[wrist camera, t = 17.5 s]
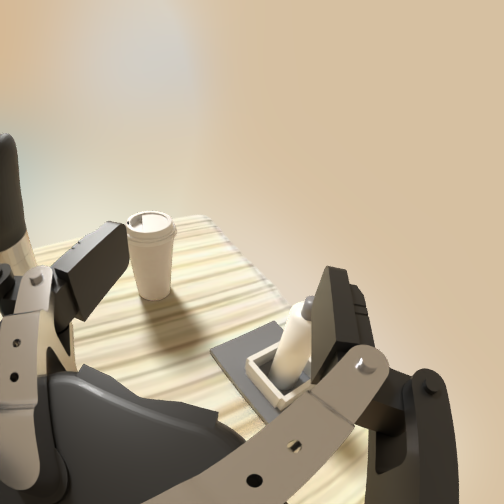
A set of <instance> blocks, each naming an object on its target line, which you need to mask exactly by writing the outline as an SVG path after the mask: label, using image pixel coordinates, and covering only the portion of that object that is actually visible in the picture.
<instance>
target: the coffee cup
mask: <svg viewBox="0 0 504 504" xmlns="http://www.w3.org/2000/svg"><path fill="white" fill-rule="evenodd" d="M125 226H126V229H127V239H128V247H129V256H130V260H131V264H132V269H133V273H134V277H135V280H136V284H137V288H138V292H139V294H140V296H141V297H142V298H144V299H146V300H150V301H156V300H161V299H163V298H165V297H166V296H167V295H168V294H169V293H170V286H171V267H172V252H173V240H174V237H175V236H176V234H177V229H176V226H175V224H174V222H173V221H172V218H171V217H170V216H169V215H168V214H166V213H163V212H159V211H144V212H140V213H137V214H134V215H132V216H131V217H130V218H128V219H127V221H126V225H125Z"/></svg>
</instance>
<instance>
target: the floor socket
mask: <svg viewBox="0 0 504 504" xmlns="http://www.w3.org/2000/svg"><path fill="white" fill-rule="evenodd" d="M283 331H284V330H283V329H282V328H281V327H280V326H279V325H278V324H277V323H276V322H275V321H272V322H270V323H268V324H266V325H264V326H261V327H259V328H257V329H255V330H253V331H250V332H248V333H246V334H244V335H242V336H239V337H237V338H235V339H232V340H230V341H228V342H226V343H223V344H221V345H219V346H216V347H214V348H211V349H210V354H211V355H212V356H213V358H214V359H215V360H216V362H217V363H218V365H219V366H220V367H221V369H222V370H223V371H224V373H225V374H226V375H227V377H228V378H229V379H230V381H231V382H232V383H233V385H234V386H235V387H236V388H237V390H238V391H239V392H240V393H241V395H242V396H243V397H244V399H245V400H246V401H247V402H248V403H249V405H250V406H251V407H252V408H253V410H254V411H255V412H256V413H257V414H258V416H259V417H260V418H261V419H262V420H263V422H264V423H265V424H266V425H268V424H269V423H270V422H271V421H273V420H274V419H275V418H276V417H277V416H279V415H280V414H281V413H282V412H283V411H284V410H285V409H287V408H288V407H289V406H290V405H291V404H292V403H293V402H294V401H296V400H297V399H298V398H299V397H300V396H301V395H302V394H303V393H305V392H306V391H308V390H309V391H310V390H312V389H313V388H314V387H315V386H316V385H314V384H311V356H310V358H309V360H308V362H307V363H306V365H305V367H304V369H303V371H302V373H301V375H300V377H299V379H298V380H297V382H296V384H295V386H294V387H293V388H291V389H289V390H279V389H277V388H276V387H275V386H274V385H273V383H272V382H271V381H270V380H269V379H268V374H269V371H270V368H271V365H272V363H273V360H274V357H275V354H276V351H277V349H278V346H279V343H280V340H281V337H282V334H283Z"/></svg>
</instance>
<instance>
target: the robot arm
mask: <svg viewBox="0 0 504 504" xmlns="http://www.w3.org/2000/svg"><path fill="white" fill-rule="evenodd" d="M129 259H130V256H129V247H128V239H127V229H126V226H125V225H124V224H122V223H117V222H112V221H107V222H106V223H104V224H103V225H102V226H100V227H99V228H98V229H97V230H96V231H94V232H92V233H89V234H87V235H85V236H84V237H83V238H82V239H81V240H80V241H78V243H76V244H75V245H74V246H73V247H72V249H69V250H68V251H67V252H66V253H65V254H64V255H62V256H61V257H60V258H59V259H58V260H57V261H56V262H55V263H54V264H53V265H52V266H51V267H48V266H44V265H41V266H37V263H36V260H35V257H34V253H33V250H32V247H31V244H30V240H29V237H28V233H27V229H26V224H25V220H24V211H23V202H22V196H21V189H20V180H19V166H18V155H17V149H16V144H15V142H14V139H13V138H12V136H11V135H10V134H7V133H5V134H0V313H1V314H2V316H3V319H2V320H1V322H0V504H288V503H287V502H286V501H287V500H288V499H289V498H290V497H291V496H293V495H294V494H295V493H296V492H297V491H298V490H299V489H300V488H301V487H302V486H303V485H304V484H305V483H306V482H307V481H308V480H309V479H310V478H311V477H312V476H313V475H314V474H315V473H316V472H317V471H318V470H319V469H320V468H321V467H322V466H323V465H324V464H325V463H326V461H327V460H328V459H329V458H330V457H331V456H332V455H333V454H334V453H335V451H336V450H337V449H338V448H339V447H340V446H341V444H342V443H343V442H344V441H345V440H346V438H347V437H348V436H349V435H350V433H351V432H352V430H353V429H354V427H355V426H354V424H356V425H358V426H361V427H364V428H367V429H369V439H368V467H367V482H366V494H365V503H364V504H459V478H458V461H457V450H456V441H455V433H454V426H453V420H452V414H451V409H450V403H449V398H448V393H447V389H446V385H445V383H444V381H443V379H442V378H441V376H439V374H438V373H436V372H435V371H433V370H430V369H420V370H418V371H416V372H415V374H414V375H413V376H409V375H406V374H404V373H401V372H398V371H396V370H393V369H391V368H390V367H389V363H388V361H387V359H386V357H385V356H384V354H383V353H382V352H380V351H379V350H378V349H376V348H375V345H374V340H373V335H372V330H371V325H370V321H369V317H368V311H367V308H366V303H365V299H364V295H363V294H362V293H361V291H360V290H359V289H358V287H357V286H356V285H351V284H349V280H348V275H347V271H346V270H345V269H340V268H335V267H330V266H326V268H325V269H324V272H323V275H322V278H321V280H320V283H319V286H318V289H317V291H316V294H315V297H314V300H313V304H312V311H311V384H314V385H316V386H315V387H314V388H313V389H312V390H310V391H309V390H308V391H306V392H305V393H303V394H302V395H301V396H300V397H299V398H298V399H297V400H296V401H294V402H293V403H292V404H291V405H290V406H289V407H288V408H287V409H285V410H284V411H283V412H282V413H281V414H280V415H279V416H277V417H276V418H275V419H274V420H273V421H271V422H270V423H269V424H268V425H267V426H265V427H264V428H263V429H262V430H260V431H259V432H258V433H257V434H255V435H254V436H253V437H252V438H250V439H249V440H248V441H246V440H245V439H244V438H243V437H242V436H240V435H239V434H238V433H237V432H235V431H234V430H233V429H231V428H230V427H228V426H226V425H225V424H223V423H221V422H219V421H218V412H216V411H212V410H208V409H204V408H200V407H197V406H193V405H190V404H186V403H183V402H176V401H164V400H154V399H146V398H141V397H139V396H137V395H135V394H134V393H133V392H131V391H130V390H128V389H127V388H126V387H124V386H123V385H122V384H120V383H119V382H118V381H116V380H115V379H114V378H112V377H111V376H109V375H107V374H104V373H102V372H100V371H98V370H96V369H93V368H91V367H89V366H87V365H85V364H83V365H82V367H81V369H80V370H79V372H78V371H77V368H76V363H75V353H74V336H73V324H72V322H71V321H72V319H73V318H74V317H75V318H77V319H79V320H81V321H84V322H85V321H86V319H87V318H88V317H89V315H90V314H91V313H92V312H93V310H94V309H95V308H96V306H97V305H98V304H99V303H100V301H101V300H102V299H103V297H104V296H105V295H106V294H107V292H108V291H109V290H110V289H111V287H112V286H113V285H114V284H115V283H116V281H117V280H118V279H119V278H120V277H121V275H122V274H123V273H124V272H125V271H126V269H127V267H128V264H129Z"/></svg>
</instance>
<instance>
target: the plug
mask: <svg viewBox="0 0 504 504" xmlns="http://www.w3.org/2000/svg"><path fill="white" fill-rule="evenodd" d="M314 297H315V296H309V297H307V298H306V299H305V302H299V303H296V304H294V305H293V306H292V308H291V310H290V313H289V316H288V319H287V322H286V325H285V328H284V331H283V334H282V337H281V340H280V343H279V346H278V349H277V351H276V354H275V357H274V360H273V363H272V365H271V368H270V371H269V374H268V379H269V380H270V381H271V382H272V383H273V385H274V386H275V387H276V388H277V389H279V390H289V389H291V388H293V387H294V386H295V384H296V382H297V380H298V379H299V377H300V375H301V373H302V371H303V369H304V367H305V365H306V363H307V362H308V360H309V358H310V356H311V311H312V304H313V300H314Z"/></svg>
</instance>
